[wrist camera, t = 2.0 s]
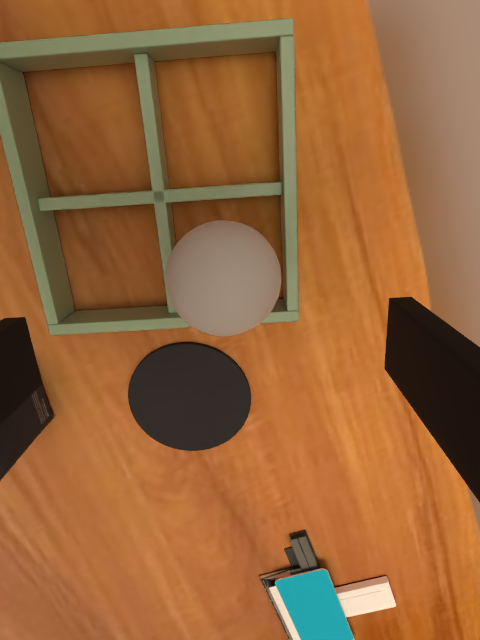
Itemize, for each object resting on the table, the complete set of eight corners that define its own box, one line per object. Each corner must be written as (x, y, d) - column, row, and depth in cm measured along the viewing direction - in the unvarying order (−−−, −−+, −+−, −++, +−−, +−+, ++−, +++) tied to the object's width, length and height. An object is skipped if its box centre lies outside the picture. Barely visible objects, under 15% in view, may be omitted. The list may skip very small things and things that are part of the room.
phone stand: (410, 649, 43) (416, 666, 42) (304, 670, 45) (306, 688, 43) (366, 514, 37) (371, 529, 35) (244, 545, 38) (244, 561, 37)
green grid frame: (7, 58, 25) (-23, 43, 22) (288, 35, 24) (294, 17, 21) (67, 320, 31) (49, 335, 28) (294, 307, 30) (299, 321, 27)
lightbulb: (189, 203, 28) (155, 221, 17) (277, 212, 28) (295, 235, 17) (185, 288, 30) (152, 349, 19) (266, 296, 30) (277, 361, 20)
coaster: (119, 345, 31) (118, 347, 31) (246, 338, 31) (247, 340, 31) (139, 450, 35) (138, 453, 34) (253, 445, 35) (253, 448, 34)
